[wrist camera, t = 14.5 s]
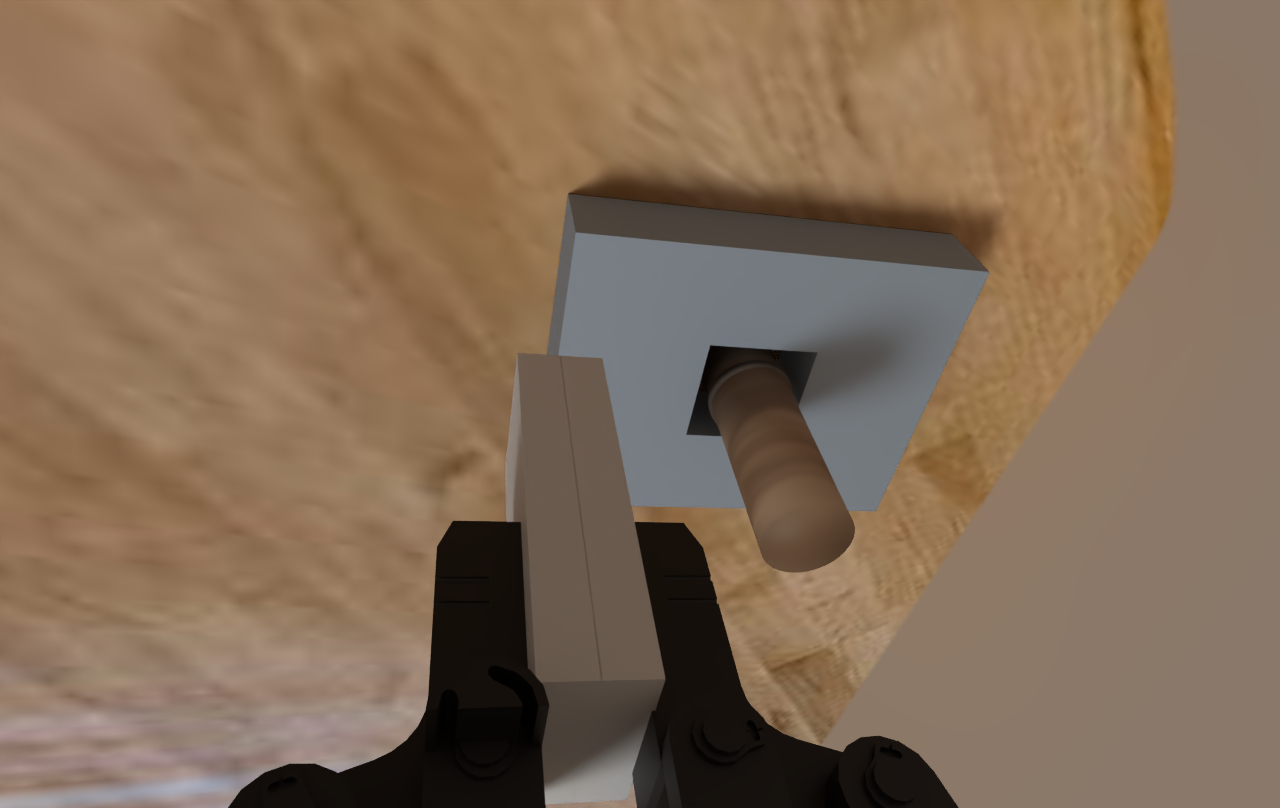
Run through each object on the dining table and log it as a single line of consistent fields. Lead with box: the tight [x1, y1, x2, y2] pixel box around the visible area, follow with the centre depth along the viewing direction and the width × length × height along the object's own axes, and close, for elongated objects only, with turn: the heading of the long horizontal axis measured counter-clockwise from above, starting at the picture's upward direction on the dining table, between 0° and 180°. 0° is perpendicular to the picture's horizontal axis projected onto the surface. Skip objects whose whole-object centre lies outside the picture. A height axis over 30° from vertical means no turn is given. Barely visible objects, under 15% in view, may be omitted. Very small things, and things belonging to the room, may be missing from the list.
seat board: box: [547, 194, 989, 511], centre depth 44 cm, size 16×20×4 cm
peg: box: [701, 345, 855, 572], centre depth 40 cm, size 4×4×14 cm
